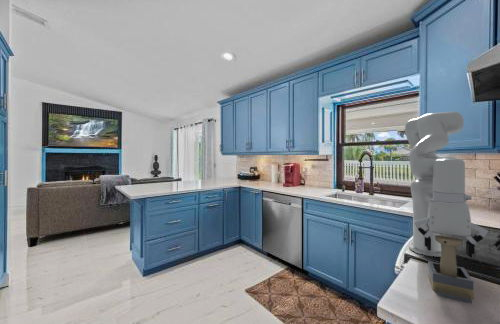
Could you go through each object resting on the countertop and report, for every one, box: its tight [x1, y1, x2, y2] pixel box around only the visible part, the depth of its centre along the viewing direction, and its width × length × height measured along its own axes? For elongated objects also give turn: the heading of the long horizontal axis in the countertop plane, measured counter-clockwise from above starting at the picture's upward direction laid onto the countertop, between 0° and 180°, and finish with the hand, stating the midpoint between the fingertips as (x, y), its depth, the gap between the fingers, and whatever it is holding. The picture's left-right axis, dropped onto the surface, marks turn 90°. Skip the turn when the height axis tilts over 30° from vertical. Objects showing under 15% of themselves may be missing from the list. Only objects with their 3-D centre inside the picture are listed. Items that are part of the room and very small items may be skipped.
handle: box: [435, 234, 463, 277], centre depth 70 cm, size 5×6×15 cm
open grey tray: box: [427, 260, 475, 304], centre depth 70 cm, size 16×9×5 cm, turn 148°
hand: (448, 252), depth 71 cm, fingers open, 9 cm apart
